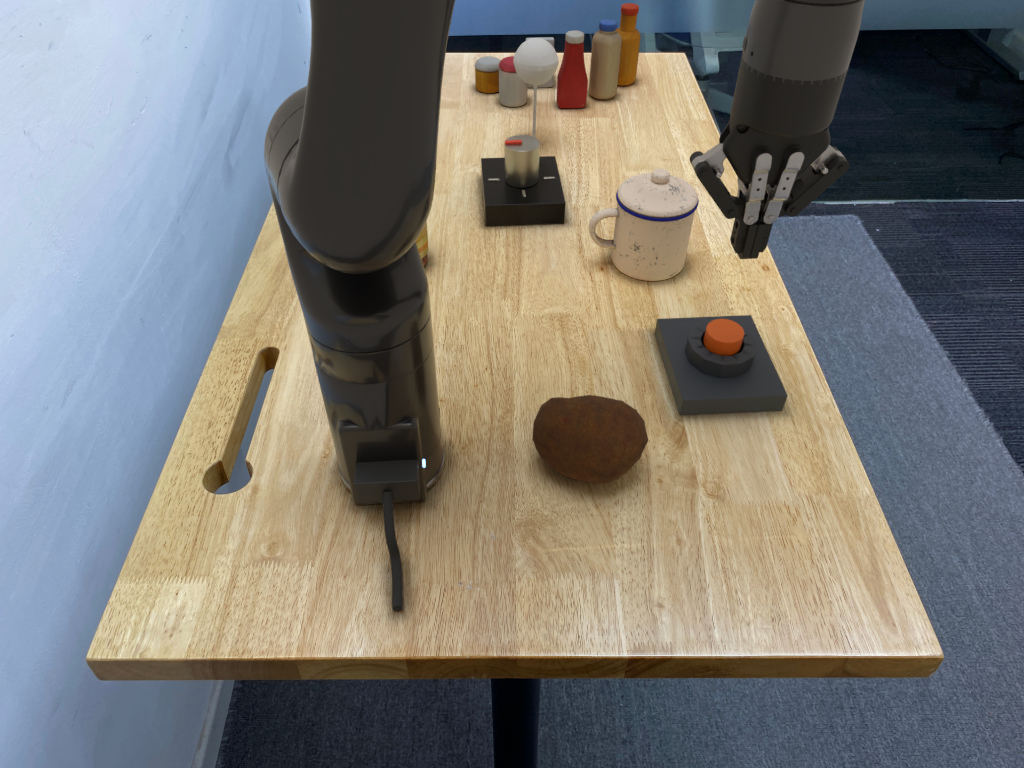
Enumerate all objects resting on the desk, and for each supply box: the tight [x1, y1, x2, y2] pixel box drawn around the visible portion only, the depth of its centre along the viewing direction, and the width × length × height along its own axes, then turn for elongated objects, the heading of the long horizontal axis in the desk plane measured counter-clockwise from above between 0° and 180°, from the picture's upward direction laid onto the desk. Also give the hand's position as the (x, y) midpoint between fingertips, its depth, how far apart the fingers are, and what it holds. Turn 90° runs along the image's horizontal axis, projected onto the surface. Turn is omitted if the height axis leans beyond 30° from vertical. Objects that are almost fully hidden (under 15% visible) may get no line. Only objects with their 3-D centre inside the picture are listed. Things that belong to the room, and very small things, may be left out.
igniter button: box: [703, 319, 744, 356], centre depth 75 cm, size 4×4×2 cm
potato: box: [532, 394, 649, 485], centre depth 66 cm, size 7×10×8 cm
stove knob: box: [503, 134, 541, 188], centre depth 97 cm, size 4×4×5 cm
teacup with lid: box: [588, 168, 700, 282], centre depth 87 cm, size 12×9×12 cm
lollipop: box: [513, 37, 559, 138], centre depth 107 cm, size 6×6×15 cm
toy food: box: [473, 2, 641, 109], centre depth 121 cm, size 27×13×12 cm, turn 93°
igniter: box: [654, 314, 788, 417], centre depth 77 cm, size 12×10×4 cm
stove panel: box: [480, 155, 566, 227], centre depth 100 cm, size 12×10×3 cm
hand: (745, 253), depth 68 cm, fingers closed
